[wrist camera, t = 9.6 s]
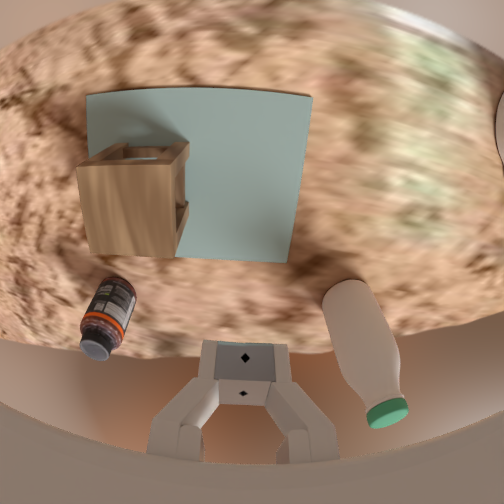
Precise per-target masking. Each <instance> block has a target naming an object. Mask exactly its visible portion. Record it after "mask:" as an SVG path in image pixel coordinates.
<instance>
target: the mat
mask: <svg viewBox="0 0 504 504" xmlns="http://www.w3.org/2000/svg"><path fill="white" fill-rule="evenodd" d="M312 102H313V98H312V97H306V96H299V95H292V94H284V93H276V92H267V91H256V90H244V89H227V88H156V89H139V90H127V91H117V92H108V93H100V94H93V95H86V116H87V140H88V154H89V158H91V157H93V156H94V155H96V154H98V153H99V152H101V151H103V150H104V149H106V148H108V147H110V146H111V145H113V144H115V143H128V144H129V147H134V146H171V145H172V144H173V143H174V142H190V152H189V158H188V160H187V161H186V162H185V202H189V217H188V219H187V222H186V225H185V228H184V231H183V233H182V236H181V239H180V242H179V245H178V248H177V251H176V254H175V257H188V258H204V259H221V260H239V261H257V262H275V263H287V259H288V253H289V248H290V242H291V237H292V231H293V225H294V220H295V214H296V208H297V202H298V196H299V190H300V184H301V178H302V171H303V165H304V158H305V152H306V145H307V138H308V131H309V124H310V117H311V110H312ZM139 159H157V158H127V159H125V160H139Z"/></svg>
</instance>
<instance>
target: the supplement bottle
mask: <svg viewBox="0 0 504 504" xmlns="http://www.w3.org/2000/svg"><path fill="white" fill-rule="evenodd" d="M136 298H137V297H136V292H135V290H134V289H133V287H132V286H131V285H130V284H129V283H128V282H126V281H125V280H123V279H120V278H116V277H110V278H106V279H105V280H103V281H102V283H101V284H100V286H99V288H98V290H97V291H96V293H95V295H94V297H93V299H92V301H91V303H90V305H89V307H88V309H87V311H86V313H85V315H84V317H83V319H82V321H81V324H80V331H81V334H82V339H81V341H80V348H81V350H82V351H83V352H84V353H85V354H86V355H87V356H89V357H90V358H92V359H94V360H99V361H104V360H107V359H108V357H109V355H110V353H111V350H114V349H117V348H118V347H119V346H120V345H121V343H122V340H123V337H124V334H125V331H126V328H127V326H128V323H129V320H130V317H131V314H132V312H133V309H134V306H135V303H136Z"/></svg>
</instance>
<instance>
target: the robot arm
mask: <svg viewBox="0 0 504 504" xmlns="http://www.w3.org/2000/svg"><path fill="white" fill-rule="evenodd" d="M496 139H497V146H498V150H499V154H500V156H501V159H502V161H503V164H504V93H503V95H502V97H501V100H500V102H499V106H498V110H497V117H496ZM219 404H242V405H260V406H265V408H266V410H267V411H268V412H269V414H270V416H271V417H272V418H273V420H274V422H275V423H276V425H277V426H278V427H279V429H280V430H281V432H282V433H283V434H284V436H285V437H286V438H285V439H284V441H283V442H282V444H281V446H280V447H279V449H278V450H277V452H276V464H265V465H264V464H261V465H260V464H259V465H258V464H257V465H255V464H226V463H212V462H204V459H205V448H204V442H203V438H202V431H201V429H200V428H201V427H202V426H203V425H204V423H205V422H206V421H207V420H208V418H209V417H210V416H211V414H212V413H213V412H214V411H215V409H216V408H217V407H218V405H219ZM0 504H504V411H500V412H498V413H496V414H493V415H491V416H489V417H487V418H485V419H482V420H480V421H478V422H476V423H473V424H471V425H468V426H466V427H463V428H461V429H458V430H455V431H452V432H450V433H447V434H444V435H441V436H438V437H435V438H432V439H429V440H426V441H422V442H419V443H415V444H412V445H408V446H404V447H400V448H396V449H393V450H388V451H384V452H378V453H373V454H368V455H363V456H357V457H351V458H344V459H340V456H339V449H338V442H337V437H336V430H335V426H334V425H333V424H332V422H331V421H330V420H329V419H328V418H327V417H326V416H325V415H324V414H323V412H322V411H321V410H320V409H319V408H318V407H317V406H316V405H315V404H314V402H312V400H311V399H310V398H309V397H308V396H307V394H306V393H305V392H304V391H303V390H302V389H301V388H300V386H299V385H298V384H297V383H296V382H292V379H291V369H290V361H289V352H288V346H287V344H270V343H236V342H225V341H214V340H203V343H202V350H201V357H200V364H199V372H198V378H193V379H192V380H191V381H190V382H189V383H188V384H187V385H186V386H185V387H184V388H183V389H182V390H181V391H180V392H179V393H178V394H177V395H176V396H175V397H174V398H173V399H172V400H171V401H170V402H169V403H168V404H167V405H166V406H165V407H164V408H163V409H162V410H161V411H160V412H159V413H158V414H157V415H156V416H155V417H154V418H153V419H152V425H151V430H150V435H149V440H148V446H147V452H146V453H142V452H138V451H133V450H129V449H124V448H120V447H116V446H112V445H109V444H105V443H102V442H98V441H95V440H91V439H88V438H85V437H82V436H79V435H76V434H73V433H70V432H67V431H65V430H62V429H59V428H57V427H54V426H52V425H49V424H46V423H44V422H42V421H39V420H37V419H35V418H32V417H30V416H28V415H26V414H24V413H22V412H19V411H17V410H15V409H13V408H11V407H9V406H7V405H5V404H4V403H2V402H0Z"/></svg>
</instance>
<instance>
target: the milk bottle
mask: <svg viewBox="0 0 504 504" xmlns="http://www.w3.org/2000/svg"><path fill="white" fill-rule="evenodd" d="M322 310H323V313H324V317H325V320H326V324H327V327H328V331H329V334H330V338H331V341H332V344H333V348H334V351H335V354H336V358H337V361H338V363H339V367H340V370H341V372H342V375H343V377H344V378H345V380H346V382H347V383H348V384H349V385H350V386H351V387H352V388H353V389H354V390H355V391H356V392H357V394H358V395H359V396H360V397H361V398H362V400H363V401H364V403H365V405H366V410H365V413H366V414H367V421H368V424H369V426H370V427H371V428H382V427H386V426H389V425H391V424H394V423H396V422H398V421H399V420H401V419H402V418H404V417H405V416H406V415H407V413H408V411H409V410H408V405H407V403H406V401H405V399H404V395H403V394H401V393H400V389H399V371H400V356H399V350H398V347H397V344H396V341H395V339H394V336H393V334H392V332H391V330H390V327H389V325H388V323H387V321H386V319H385V317H384V315H383V313H382V310H381V308H380V306H379V304H378V302H377V300H376V298H375V297H374V295H373V293H372V291H371V289H370V287H369V286H368V285H367V284H366V283H364V282H362V281H360V280H352V279H351V280H345V281H342V282H340V283H337V284H336V285H334V286H333V287H332V288H330V289H329V290H328V292H327V293H326V294H325V296H324V299H323V302H322Z"/></svg>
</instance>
